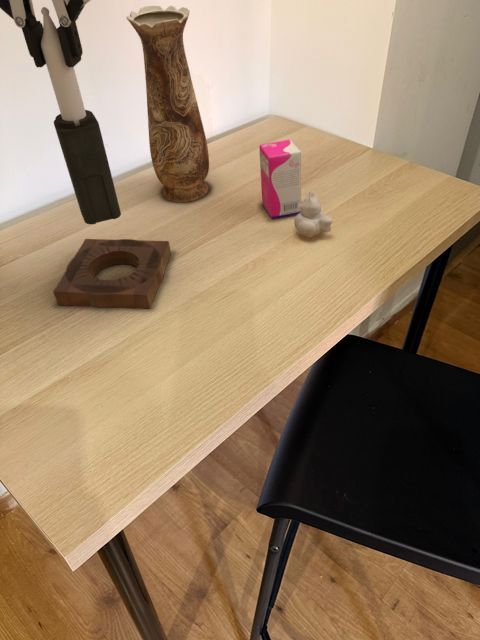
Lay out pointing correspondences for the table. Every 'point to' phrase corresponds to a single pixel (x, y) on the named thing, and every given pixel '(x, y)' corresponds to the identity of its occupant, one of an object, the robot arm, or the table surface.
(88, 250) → the hole plate
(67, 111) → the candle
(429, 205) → the table surface
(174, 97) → the vase
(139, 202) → the table surface
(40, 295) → the table surface
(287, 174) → the supplement box
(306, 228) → the white animal figurine
